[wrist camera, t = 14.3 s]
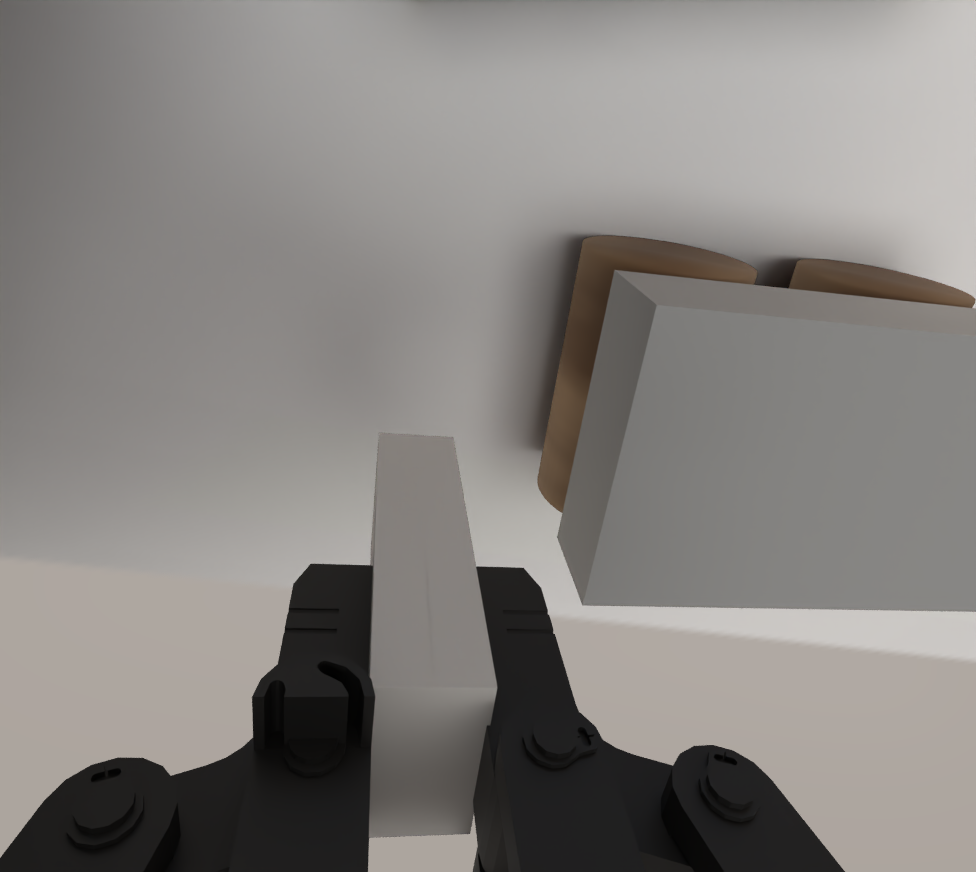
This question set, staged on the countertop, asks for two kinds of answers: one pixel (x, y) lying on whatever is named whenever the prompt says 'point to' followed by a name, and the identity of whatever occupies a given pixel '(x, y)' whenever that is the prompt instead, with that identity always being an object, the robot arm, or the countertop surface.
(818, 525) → the slab
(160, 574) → the countertop surface
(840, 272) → the resting rollers
